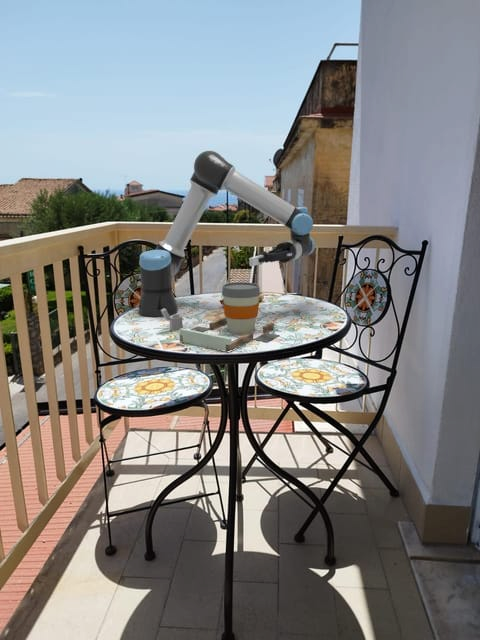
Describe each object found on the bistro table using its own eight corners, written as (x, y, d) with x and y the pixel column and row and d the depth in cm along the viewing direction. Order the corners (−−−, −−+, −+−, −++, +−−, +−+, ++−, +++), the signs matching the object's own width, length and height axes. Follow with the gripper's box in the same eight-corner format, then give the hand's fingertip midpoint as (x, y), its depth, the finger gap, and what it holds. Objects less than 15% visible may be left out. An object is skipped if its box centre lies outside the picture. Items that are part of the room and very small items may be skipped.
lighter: (180, 328, 145) (179, 305, 143) (183, 329, 144) (181, 306, 142) (161, 331, 141) (160, 308, 139) (163, 333, 140) (162, 309, 138)
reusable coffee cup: (227, 336, 135) (226, 290, 131) (218, 326, 147) (218, 283, 143) (264, 333, 139) (265, 288, 135) (253, 323, 150) (253, 281, 146)
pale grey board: (182, 340, 132) (181, 328, 131) (231, 351, 122) (231, 338, 121) (180, 341, 131) (179, 329, 130) (229, 352, 121) (229, 339, 120)
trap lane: (217, 319, 155) (217, 313, 155) (287, 331, 140) (287, 325, 140) (167, 338, 134) (167, 332, 133) (244, 355, 119) (244, 348, 118)
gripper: (303, 261, 159) (267, 273, 142) (274, 261, 168) (237, 272, 150) (302, 240, 157) (265, 250, 140) (273, 242, 166) (235, 251, 148)
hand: (251, 262), depth 145 cm, fingers closed
